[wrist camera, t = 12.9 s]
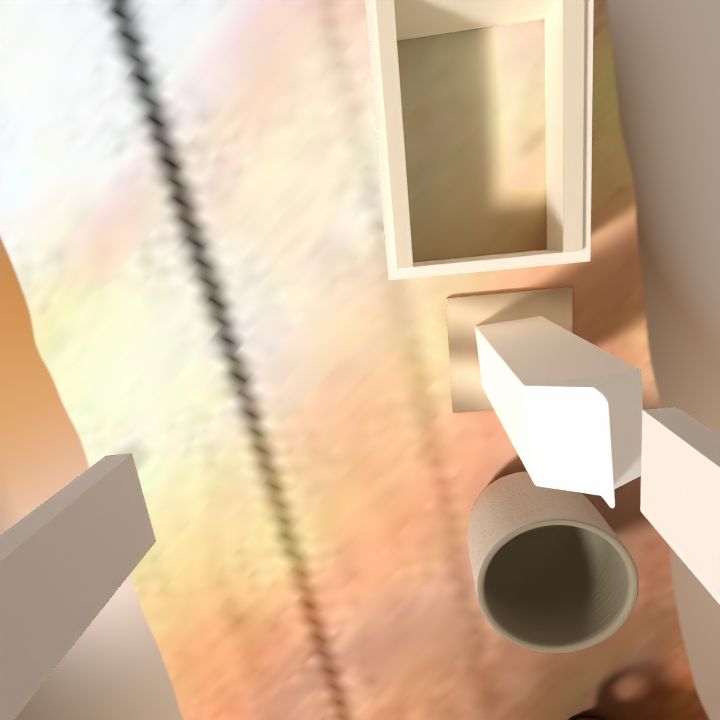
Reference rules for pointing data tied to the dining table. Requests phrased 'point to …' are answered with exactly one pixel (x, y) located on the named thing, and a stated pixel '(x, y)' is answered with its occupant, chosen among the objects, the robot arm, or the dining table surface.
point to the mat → (487, 311)
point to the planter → (548, 566)
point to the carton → (563, 122)
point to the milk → (563, 405)
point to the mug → (587, 718)
